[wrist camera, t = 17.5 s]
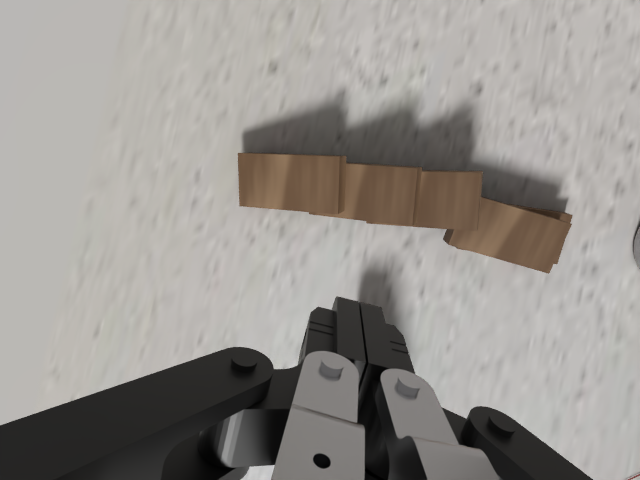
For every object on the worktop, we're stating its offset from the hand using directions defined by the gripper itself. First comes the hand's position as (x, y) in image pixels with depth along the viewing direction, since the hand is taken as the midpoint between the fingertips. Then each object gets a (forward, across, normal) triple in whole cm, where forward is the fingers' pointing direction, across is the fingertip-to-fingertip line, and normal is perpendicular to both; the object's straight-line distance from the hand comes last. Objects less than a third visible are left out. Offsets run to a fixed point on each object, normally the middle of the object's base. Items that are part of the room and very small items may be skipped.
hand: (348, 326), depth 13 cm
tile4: (+27, +3, 0) cm, 27 cm away
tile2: (+26, -11, -1) cm, 28 cm away
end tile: (+27, +10, +1) cm, 28 cm away
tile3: (+27, -3, 0) cm, 27 cm away
